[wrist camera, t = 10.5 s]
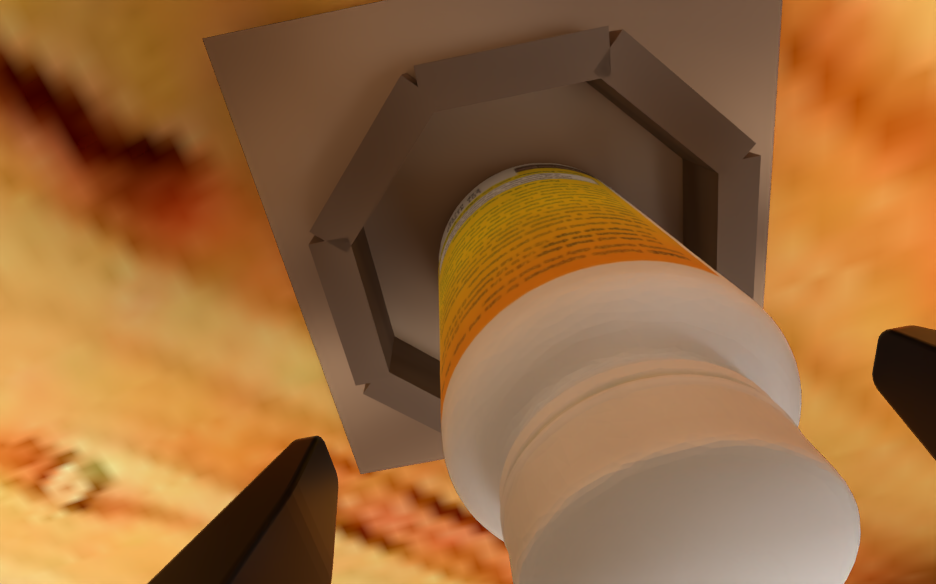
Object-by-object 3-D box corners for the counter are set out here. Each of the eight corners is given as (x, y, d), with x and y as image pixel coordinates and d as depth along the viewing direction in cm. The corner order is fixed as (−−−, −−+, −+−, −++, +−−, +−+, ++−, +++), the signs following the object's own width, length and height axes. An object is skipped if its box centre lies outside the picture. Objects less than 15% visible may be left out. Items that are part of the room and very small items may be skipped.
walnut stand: (734, 376, 19) (793, 440, 16) (366, 445, 19) (352, 520, 16) (751, -70, 13) (850, -111, 10) (225, 40, 14) (161, 35, 10)
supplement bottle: (398, 264, 15) (336, 612, 6) (533, 113, 13) (754, 249, 4) (533, 368, 17) (655, 763, 7) (666, 246, 15) (1031, 550, 6)
